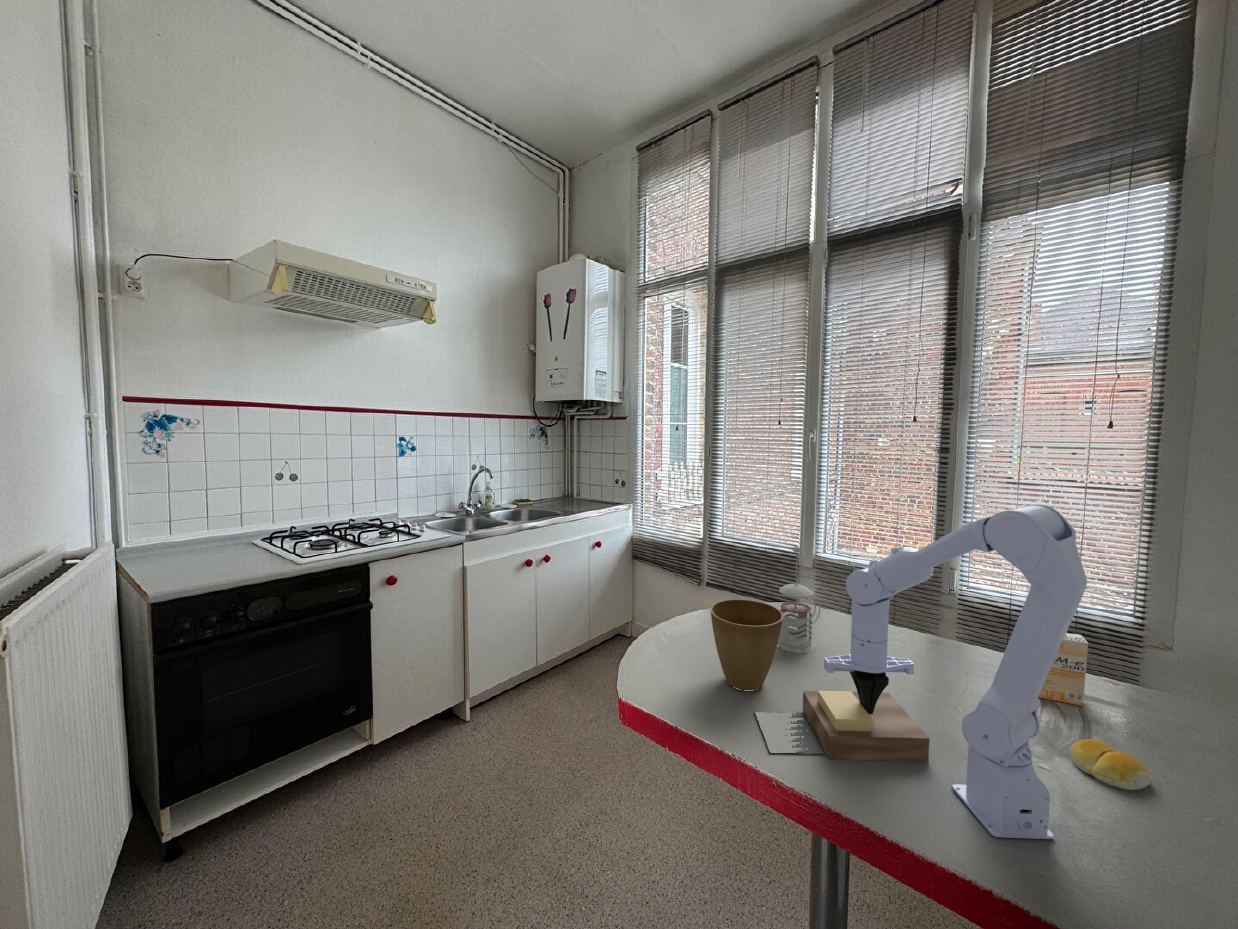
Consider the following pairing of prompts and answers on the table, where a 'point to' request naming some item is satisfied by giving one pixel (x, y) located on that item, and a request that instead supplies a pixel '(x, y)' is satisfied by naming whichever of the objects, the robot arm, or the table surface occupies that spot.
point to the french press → (791, 637)
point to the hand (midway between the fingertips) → (866, 711)
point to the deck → (870, 733)
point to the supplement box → (1067, 672)
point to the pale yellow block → (845, 711)
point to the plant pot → (746, 640)
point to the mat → (808, 738)
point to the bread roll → (1109, 765)
